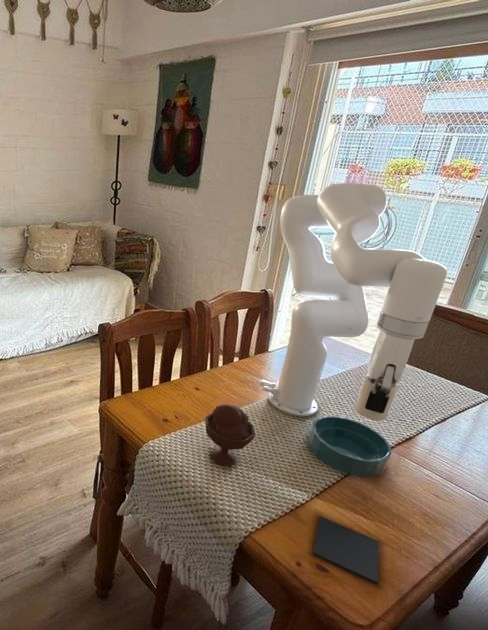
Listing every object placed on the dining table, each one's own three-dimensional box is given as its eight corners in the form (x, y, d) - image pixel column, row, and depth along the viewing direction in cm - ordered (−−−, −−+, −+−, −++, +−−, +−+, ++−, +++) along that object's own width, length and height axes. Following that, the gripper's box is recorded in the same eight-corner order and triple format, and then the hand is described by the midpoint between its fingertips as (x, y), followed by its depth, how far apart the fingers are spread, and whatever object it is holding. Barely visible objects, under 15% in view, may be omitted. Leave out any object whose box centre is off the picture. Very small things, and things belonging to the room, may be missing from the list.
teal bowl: (303, 459, 104) (308, 442, 102) (311, 424, 116) (316, 408, 114) (384, 489, 96) (392, 472, 94) (384, 448, 108) (391, 432, 106)
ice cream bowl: (242, 482, 97) (255, 427, 90) (192, 462, 102) (202, 408, 96) (251, 454, 105) (265, 402, 99) (205, 437, 110) (215, 386, 104)
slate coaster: (312, 554, 81) (313, 552, 80) (319, 517, 88) (319, 515, 88) (377, 584, 76) (378, 582, 75) (377, 543, 83) (378, 540, 83)
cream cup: (354, 414, 91) (365, 383, 88) (355, 401, 96) (365, 371, 93) (387, 424, 88) (399, 392, 86) (386, 410, 93) (397, 379, 90)
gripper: (378, 306, 93) (354, 380, 100) (379, 334, 79) (351, 417, 86) (421, 314, 89) (393, 390, 96) (431, 345, 76) (397, 431, 83)
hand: (374, 402), depth 91 cm, fingers closed on cream cup, 5 cm apart
